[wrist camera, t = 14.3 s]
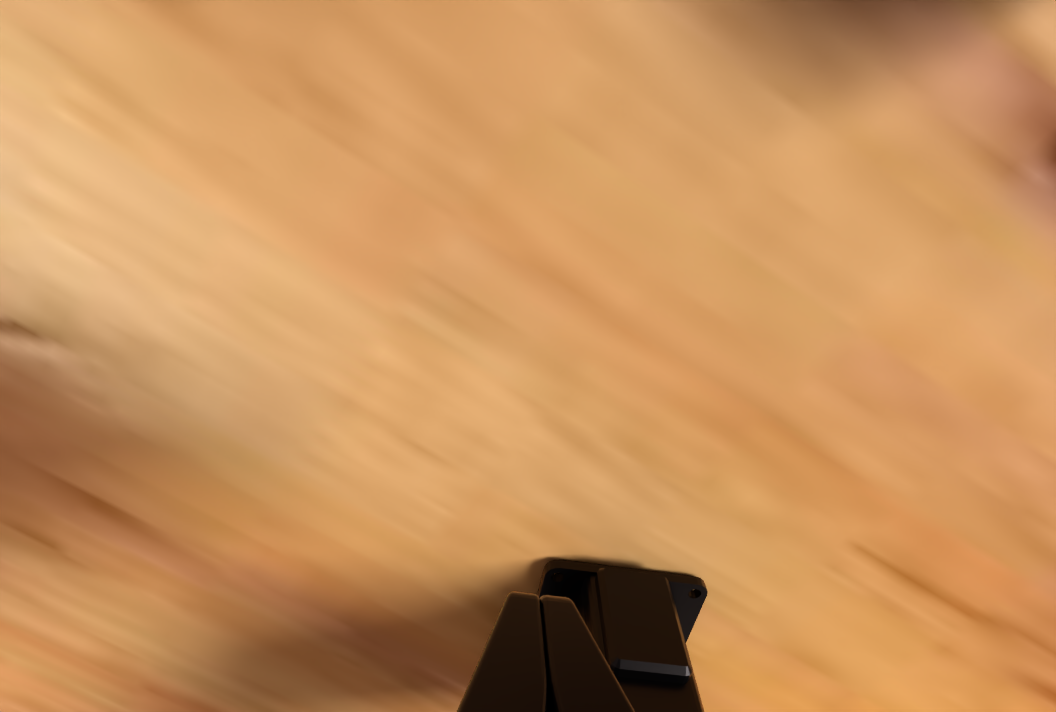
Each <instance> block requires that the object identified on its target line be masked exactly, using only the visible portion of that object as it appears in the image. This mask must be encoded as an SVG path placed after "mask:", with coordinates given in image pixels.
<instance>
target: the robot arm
mask: <svg viewBox="0 0 1056 712" xmlns="http://www.w3.org/2000/svg"><path fill="white" fill-rule="evenodd" d="M558 572H559V573H560V574H554V573H558ZM693 589H695V590H693ZM706 596H707V589H706V586H705V583H704V581H703V580H702V579H701V578H698V577H693V576H685V575H677V574H669V573H661V572H653V571H645V570H637V569H628V568H620V567H612V566H604V565H596V564H588V563H580V562H572V561H564V560H553V561H550V562H549V563H547V564H546V566H545V568H544V571H543V575H542V579H541V582H540V586H539V590H538V594H537V595H536V594H533V593H524V592H516V591H512V592H510V593H509V594H508V595H507V597H506V599H505V602H504V604H503V606H502V609H501V611H500V613H499V615H498V618H497V620H496V622H495V625H494V627H493V629H492V632H491V634H490V636H489V639H488V641H487V643H486V645H485V648H484V650H483V652H482V655H481V657H480V659H479V662H478V664H477V666H476V669H475V671H474V673H473V675H472V678H471V680H470V682H469V685H468V687H467V689H466V692H465V694H464V696H463V699H462V701H461V703H460V705H459V708H458V710H457V712H704V709H703V705H702V702H701V698H700V694H699V691H698V687H697V684H696V680H695V676H694V673H693V669H692V665H691V661H690V658H689V654H688V650H687V647H686V641H687V639H688V637H689V635H690V632H691V630H692V628H693V626H694V623H695V621H696V619H697V617H698V614H699V612H700V610H701V608H702V605H703V603H704V601H705V599H706Z"/></svg>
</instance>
